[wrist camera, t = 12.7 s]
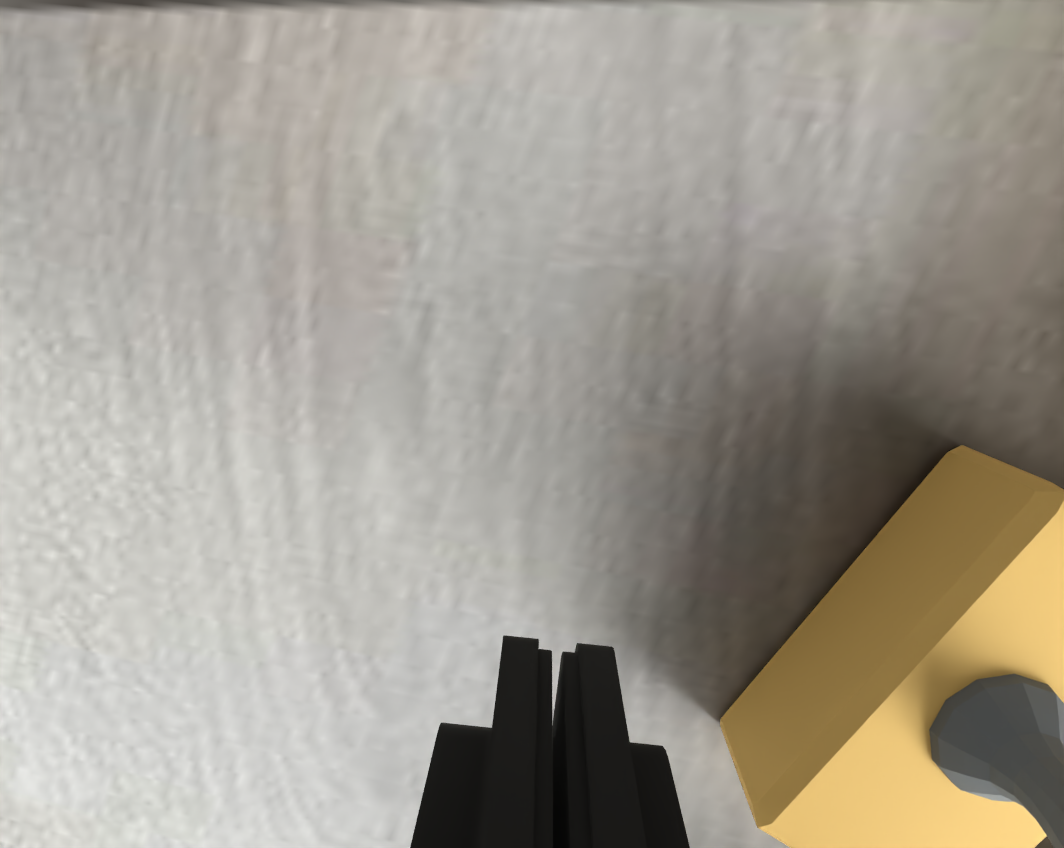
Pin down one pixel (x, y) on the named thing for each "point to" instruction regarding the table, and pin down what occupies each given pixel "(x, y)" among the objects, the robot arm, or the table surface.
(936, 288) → the table surface
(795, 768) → the rubber stamp
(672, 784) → the robot arm
